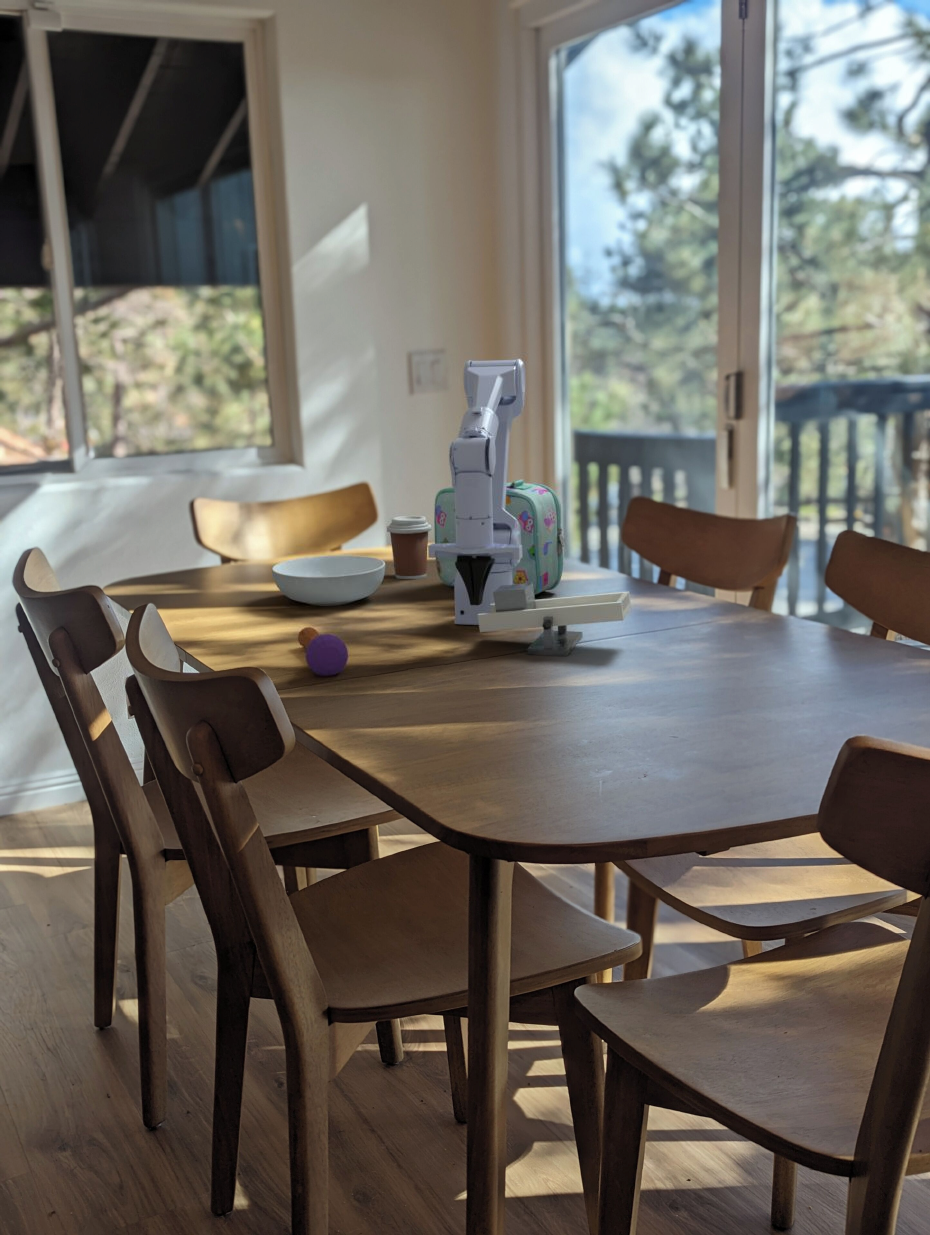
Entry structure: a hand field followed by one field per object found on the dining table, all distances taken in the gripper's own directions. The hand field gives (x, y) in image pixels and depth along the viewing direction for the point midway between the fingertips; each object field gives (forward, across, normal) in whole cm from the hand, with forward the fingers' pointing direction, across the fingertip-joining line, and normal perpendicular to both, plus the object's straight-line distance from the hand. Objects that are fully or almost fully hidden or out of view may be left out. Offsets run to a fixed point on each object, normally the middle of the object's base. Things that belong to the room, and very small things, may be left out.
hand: (476, 604), depth 177 cm
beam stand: (+6, +12, 0) cm, 14 cm away
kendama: (+6, -20, -16) cm, 26 cm away
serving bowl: (+6, -36, +25) cm, 44 cm away
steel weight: (+2, +6, 0) cm, 7 cm away
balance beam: (+2, +12, 0) cm, 13 cm away
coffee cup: (+6, -28, +50) cm, 58 cm away
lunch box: (+6, -6, +39) cm, 40 cm away
